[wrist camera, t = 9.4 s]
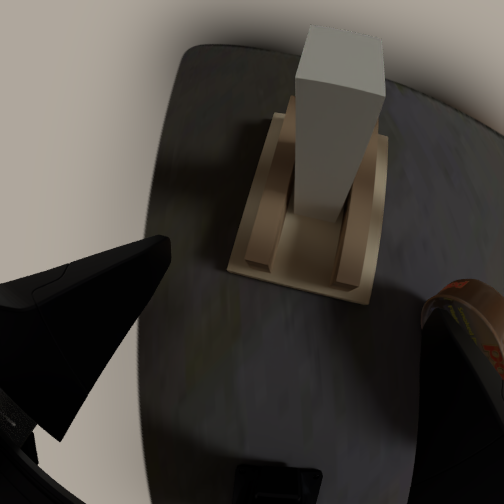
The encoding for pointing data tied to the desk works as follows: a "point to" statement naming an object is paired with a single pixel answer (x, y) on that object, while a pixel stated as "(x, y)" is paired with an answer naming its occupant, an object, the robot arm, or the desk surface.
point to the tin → (474, 315)
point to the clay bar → (334, 116)
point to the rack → (311, 223)
